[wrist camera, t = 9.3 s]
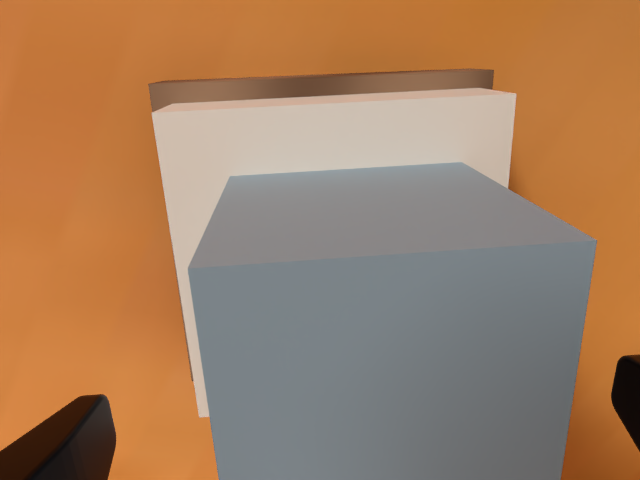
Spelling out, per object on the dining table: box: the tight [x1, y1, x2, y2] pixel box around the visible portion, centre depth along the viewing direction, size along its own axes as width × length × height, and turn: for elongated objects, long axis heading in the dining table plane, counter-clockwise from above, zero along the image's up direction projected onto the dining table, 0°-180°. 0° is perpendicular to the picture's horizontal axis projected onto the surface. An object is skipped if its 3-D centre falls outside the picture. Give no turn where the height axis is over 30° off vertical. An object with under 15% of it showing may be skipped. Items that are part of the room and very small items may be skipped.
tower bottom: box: [148, 69, 494, 381], centre depth 17 cm, size 10×10×2 cm
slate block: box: [188, 162, 597, 480], centre depth 11 cm, size 6×6×6 cm
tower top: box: [152, 88, 516, 417], centre depth 15 cm, size 9×9×2 cm
